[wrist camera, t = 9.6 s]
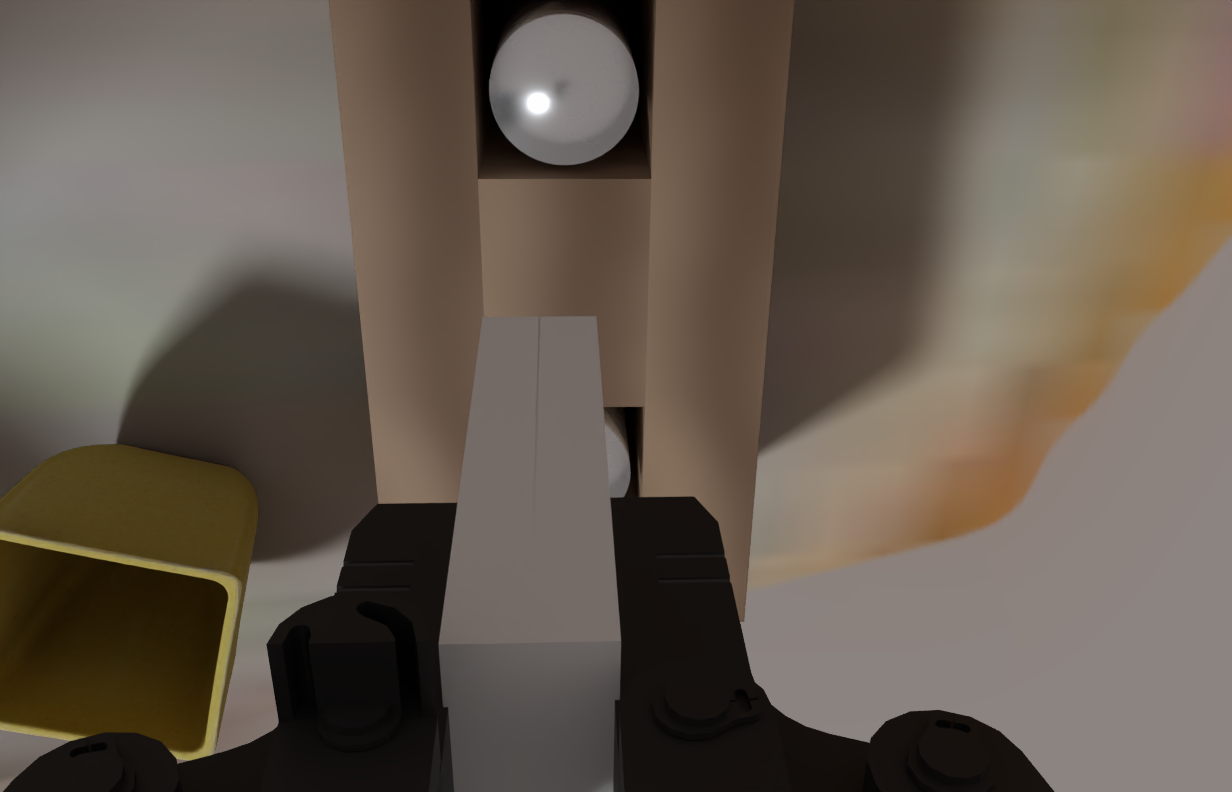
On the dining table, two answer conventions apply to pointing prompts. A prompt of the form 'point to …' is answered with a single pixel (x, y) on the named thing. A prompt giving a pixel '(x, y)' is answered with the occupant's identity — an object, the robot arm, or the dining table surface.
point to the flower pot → (123, 595)
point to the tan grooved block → (569, 240)
